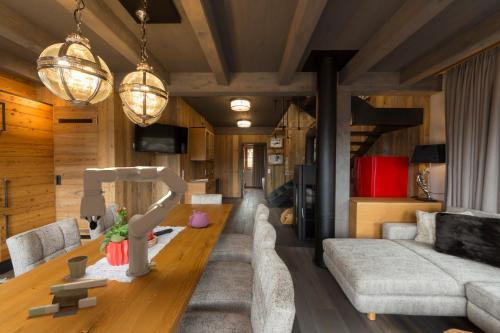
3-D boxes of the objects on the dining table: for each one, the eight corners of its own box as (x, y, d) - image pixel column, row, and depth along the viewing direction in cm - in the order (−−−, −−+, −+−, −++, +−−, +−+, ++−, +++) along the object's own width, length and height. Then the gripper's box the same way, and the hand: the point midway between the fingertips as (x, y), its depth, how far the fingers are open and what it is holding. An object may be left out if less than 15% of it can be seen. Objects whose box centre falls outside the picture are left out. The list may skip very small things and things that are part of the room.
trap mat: (80, 308, 91) (80, 307, 91) (76, 314, 88) (76, 313, 88) (56, 312, 89) (56, 312, 89) (51, 319, 85) (50, 318, 85)
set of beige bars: (107, 283, 110) (107, 277, 110) (95, 305, 93) (95, 298, 93) (52, 292, 103) (52, 285, 103) (28, 317, 86) (28, 310, 86)
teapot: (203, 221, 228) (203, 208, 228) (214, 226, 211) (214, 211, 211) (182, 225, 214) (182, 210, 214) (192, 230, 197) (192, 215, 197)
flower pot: (62, 280, 113) (62, 263, 112) (72, 271, 122) (71, 256, 122) (84, 278, 115) (83, 261, 115) (91, 269, 124) (91, 254, 124)
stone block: (57, 300, 95) (58, 289, 95) (88, 297, 98) (89, 286, 98) (50, 309, 89) (51, 296, 89) (83, 305, 93) (84, 293, 93)
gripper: (111, 191, 117) (112, 225, 118) (77, 193, 112) (78, 229, 112) (108, 193, 110) (109, 229, 111) (71, 195, 105) (72, 233, 105)
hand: (93, 229), depth 111 cm, fingers closed
